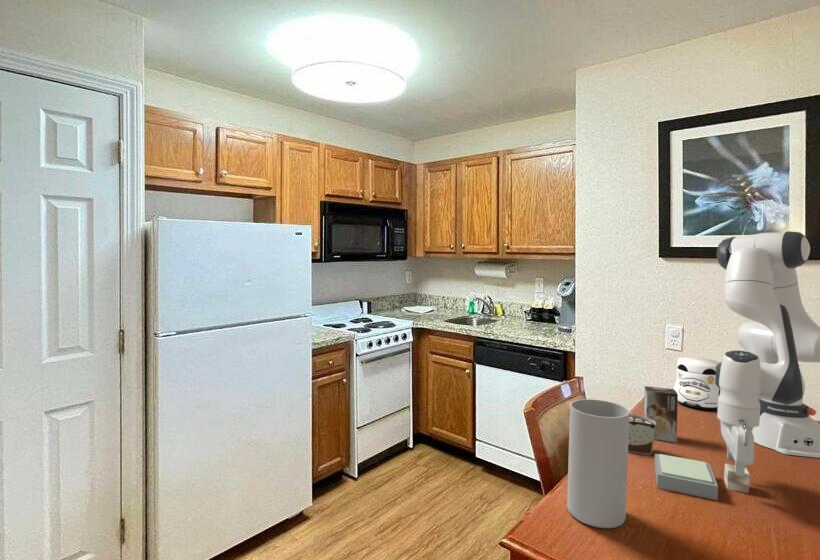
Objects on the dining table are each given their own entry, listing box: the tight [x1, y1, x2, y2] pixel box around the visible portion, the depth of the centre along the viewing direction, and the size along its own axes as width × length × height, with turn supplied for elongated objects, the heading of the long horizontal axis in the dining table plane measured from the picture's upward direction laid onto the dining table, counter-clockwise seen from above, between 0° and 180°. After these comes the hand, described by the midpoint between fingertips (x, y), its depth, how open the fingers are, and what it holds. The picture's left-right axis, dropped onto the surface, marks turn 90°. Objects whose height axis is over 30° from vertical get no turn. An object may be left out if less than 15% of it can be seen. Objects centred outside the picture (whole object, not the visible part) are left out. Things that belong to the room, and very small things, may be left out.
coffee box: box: [643, 385, 679, 443], centre depth 148 cm, size 9×6×16 cm
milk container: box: [673, 356, 721, 410], centre depth 181 cm, size 17×17×18 cm
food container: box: [628, 413, 658, 456], centre depth 139 cm, size 12×6×10 cm, turn 71°
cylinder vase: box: [566, 398, 630, 529], centre depth 103 cm, size 12×12×25 cm
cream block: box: [723, 463, 750, 494], centre depth 116 cm, size 4×4×5 cm
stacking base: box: [654, 453, 719, 501], centre depth 119 cm, size 13×14×4 cm
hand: (735, 467), depth 116 cm, fingers open, 8 cm apart
